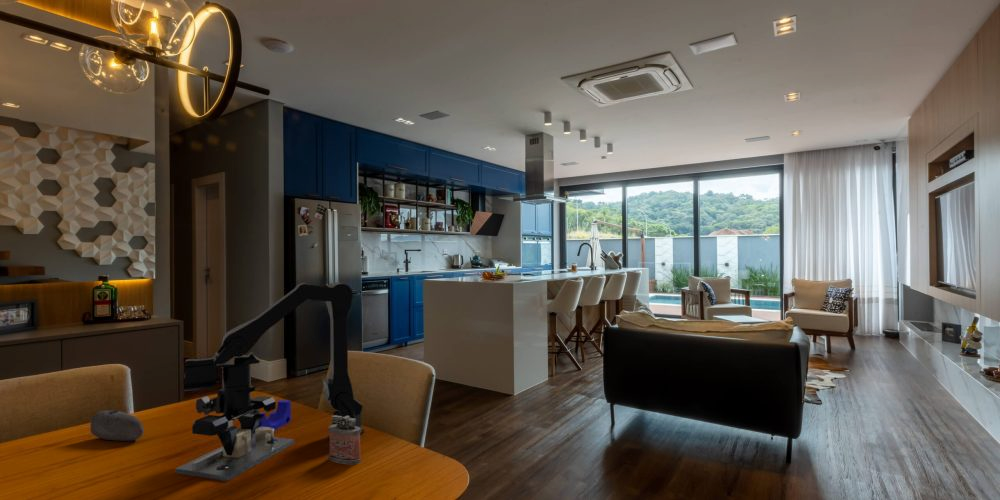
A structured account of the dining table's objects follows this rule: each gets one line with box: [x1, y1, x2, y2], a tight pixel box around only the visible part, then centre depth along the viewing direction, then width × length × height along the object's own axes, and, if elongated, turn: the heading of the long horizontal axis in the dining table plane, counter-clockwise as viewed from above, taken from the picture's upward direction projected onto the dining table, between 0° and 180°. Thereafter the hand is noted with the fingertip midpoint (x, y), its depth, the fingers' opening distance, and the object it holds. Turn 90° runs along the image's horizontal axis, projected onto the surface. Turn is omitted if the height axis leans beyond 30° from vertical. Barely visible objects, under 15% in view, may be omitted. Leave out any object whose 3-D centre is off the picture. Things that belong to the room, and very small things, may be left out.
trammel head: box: [223, 427, 251, 458], centre depth 108 cm, size 5×4×5 cm
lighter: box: [328, 414, 362, 465], centre depth 107 cm, size 8×3×10 cm, turn 71°
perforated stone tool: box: [89, 409, 145, 442], centre depth 121 cm, size 15×5×7 cm, turn 74°
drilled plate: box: [175, 427, 295, 482], centre depth 109 cm, size 14×20×4 cm
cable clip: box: [254, 399, 292, 433], centre depth 127 cm, size 12×4×6 cm, turn 170°
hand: (237, 451), depth 109 cm, fingers closed on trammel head, 4 cm apart
